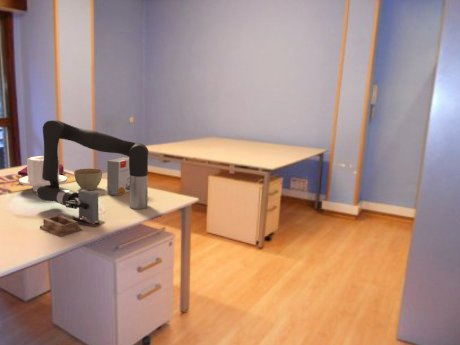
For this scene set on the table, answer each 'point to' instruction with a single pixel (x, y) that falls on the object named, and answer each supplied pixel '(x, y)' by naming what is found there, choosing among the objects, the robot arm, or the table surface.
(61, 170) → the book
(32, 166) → the ribbed cylinder on disc
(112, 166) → the hard drive box
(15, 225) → the table surface
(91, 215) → the grey upright flat block
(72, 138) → the robot arm
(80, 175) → the planter bowl
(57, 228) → the rack
